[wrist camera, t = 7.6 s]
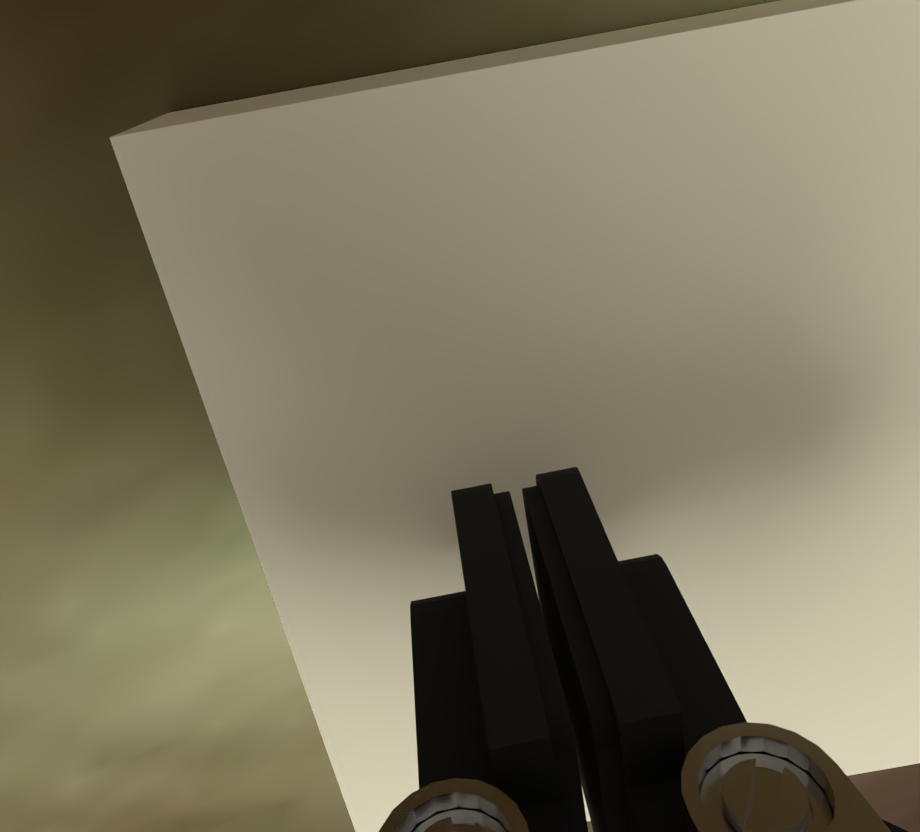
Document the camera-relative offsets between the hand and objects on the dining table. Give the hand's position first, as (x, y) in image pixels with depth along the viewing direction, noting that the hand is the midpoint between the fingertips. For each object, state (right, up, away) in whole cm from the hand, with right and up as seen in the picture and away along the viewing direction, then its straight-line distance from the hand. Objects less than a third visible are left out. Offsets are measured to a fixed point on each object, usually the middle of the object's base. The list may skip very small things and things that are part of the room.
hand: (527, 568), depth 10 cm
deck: (+7, +2, +3) cm, 8 cm away
